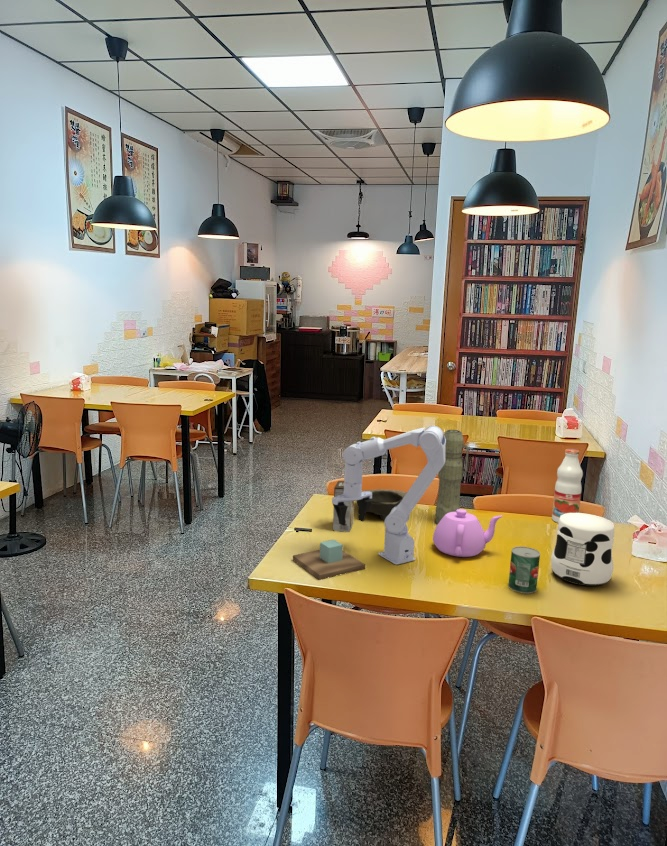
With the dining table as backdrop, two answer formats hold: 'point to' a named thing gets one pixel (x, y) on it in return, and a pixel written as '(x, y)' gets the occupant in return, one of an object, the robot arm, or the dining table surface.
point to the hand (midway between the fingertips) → (351, 522)
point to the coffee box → (349, 513)
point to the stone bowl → (384, 501)
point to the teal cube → (331, 551)
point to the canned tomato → (524, 569)
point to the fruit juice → (567, 486)
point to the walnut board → (325, 570)
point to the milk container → (583, 549)
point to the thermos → (451, 474)
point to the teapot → (462, 534)
